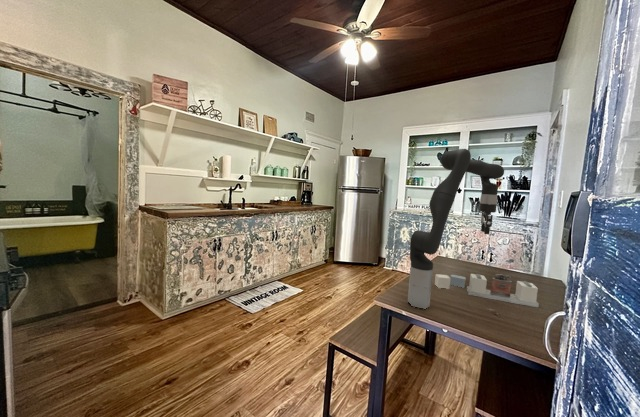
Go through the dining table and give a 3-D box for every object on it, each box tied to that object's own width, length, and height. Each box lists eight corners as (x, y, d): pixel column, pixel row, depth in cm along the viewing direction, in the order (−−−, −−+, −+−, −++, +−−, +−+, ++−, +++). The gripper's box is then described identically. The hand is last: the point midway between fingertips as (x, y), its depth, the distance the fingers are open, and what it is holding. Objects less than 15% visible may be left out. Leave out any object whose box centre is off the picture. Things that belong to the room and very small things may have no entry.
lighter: (491, 293, 125) (493, 273, 124) (489, 291, 128) (492, 272, 127) (510, 297, 121) (513, 277, 120) (509, 294, 124) (511, 275, 123)
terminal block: (464, 288, 136) (465, 279, 135) (449, 285, 139) (450, 276, 139) (464, 286, 139) (465, 277, 138) (450, 282, 143) (451, 274, 142)
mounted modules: (535, 303, 116) (538, 287, 116) (471, 291, 126) (472, 276, 126) (530, 297, 123) (532, 282, 122) (469, 286, 133) (470, 272, 132)
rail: (538, 307, 116) (538, 303, 116) (468, 294, 127) (469, 290, 127) (532, 301, 123) (532, 297, 122) (466, 289, 133) (467, 286, 133)
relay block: (449, 289, 133) (450, 278, 132) (437, 288, 134) (438, 277, 133) (446, 285, 138) (447, 275, 137) (434, 284, 139) (435, 274, 138)
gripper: (477, 202, 142) (474, 230, 144) (482, 203, 129) (479, 234, 131) (493, 203, 139) (490, 231, 141) (500, 204, 126) (496, 236, 128)
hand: (484, 232), depth 136 cm, fingers open, 8 cm apart
